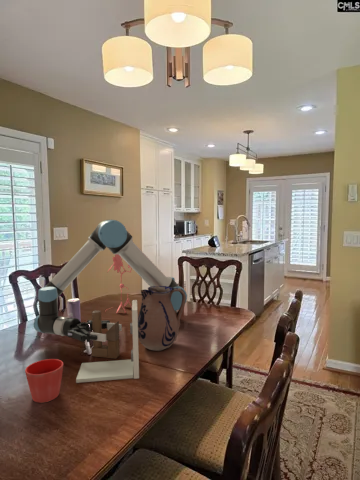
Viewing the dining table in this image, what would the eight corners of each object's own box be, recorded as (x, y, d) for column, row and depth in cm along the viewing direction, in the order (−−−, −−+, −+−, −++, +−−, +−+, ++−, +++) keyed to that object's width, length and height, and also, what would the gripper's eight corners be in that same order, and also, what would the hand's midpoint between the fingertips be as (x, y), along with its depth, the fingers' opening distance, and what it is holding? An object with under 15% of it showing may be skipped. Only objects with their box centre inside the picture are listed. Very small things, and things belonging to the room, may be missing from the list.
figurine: (139, 304, 200) (136, 248, 197) (121, 317, 175) (117, 254, 173) (116, 303, 204) (114, 249, 201) (96, 316, 179) (92, 254, 177)
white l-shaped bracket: (138, 361, 123) (137, 299, 121) (139, 378, 110) (137, 310, 108) (82, 365, 120) (79, 302, 118) (75, 383, 107) (72, 313, 105)
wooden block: (116, 359, 125) (114, 314, 124) (91, 356, 128) (89, 312, 126) (120, 355, 129) (118, 311, 127) (95, 352, 131) (94, 309, 130)
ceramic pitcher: (132, 342, 141) (131, 286, 139) (176, 334, 149) (175, 282, 147) (144, 358, 125) (142, 295, 123) (192, 349, 133) (192, 290, 131)
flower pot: (34, 387, 105) (32, 359, 104) (68, 385, 106) (67, 357, 105) (20, 407, 95) (19, 375, 94) (59, 404, 96) (57, 373, 95)
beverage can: (83, 328, 160) (82, 298, 159) (75, 332, 155) (74, 301, 153) (73, 326, 162) (72, 297, 161) (65, 331, 156) (64, 300, 155)
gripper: (85, 326, 145) (128, 331, 137) (48, 346, 123) (96, 354, 115) (84, 309, 144) (128, 314, 137) (47, 327, 122) (96, 333, 115)
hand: (113, 332), depth 126 cm, fingers open, 11 cm apart
